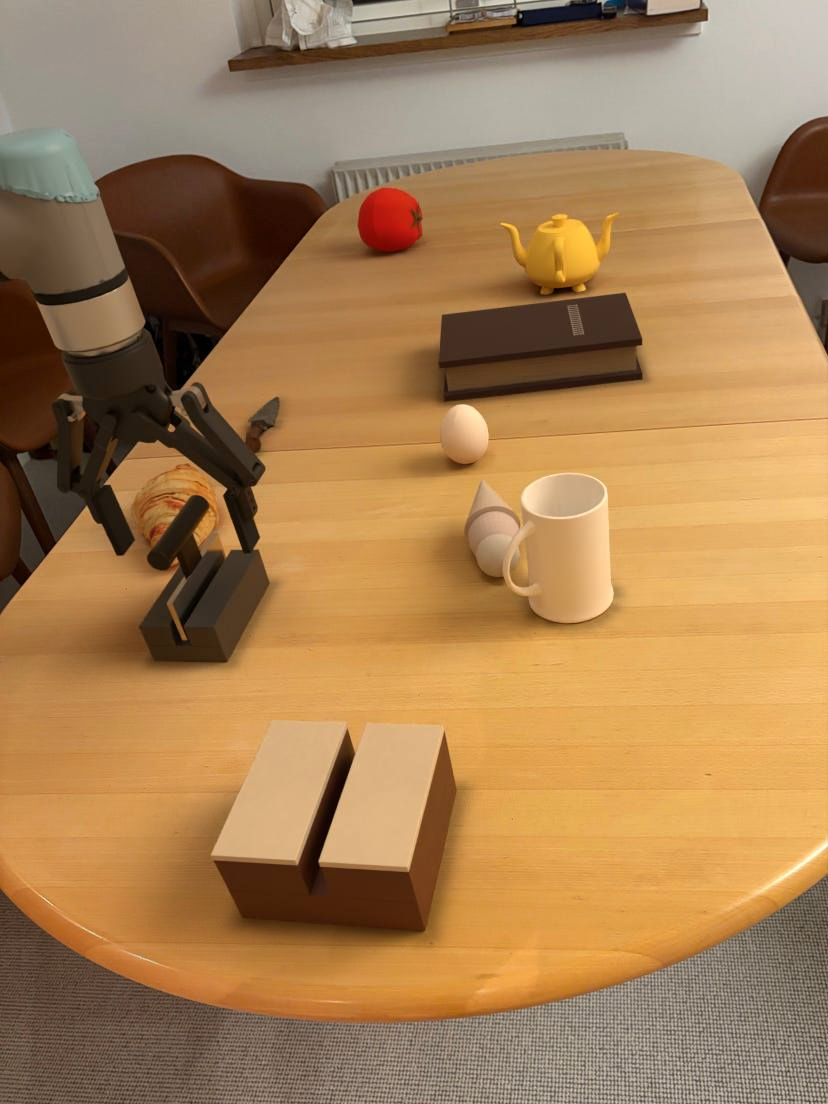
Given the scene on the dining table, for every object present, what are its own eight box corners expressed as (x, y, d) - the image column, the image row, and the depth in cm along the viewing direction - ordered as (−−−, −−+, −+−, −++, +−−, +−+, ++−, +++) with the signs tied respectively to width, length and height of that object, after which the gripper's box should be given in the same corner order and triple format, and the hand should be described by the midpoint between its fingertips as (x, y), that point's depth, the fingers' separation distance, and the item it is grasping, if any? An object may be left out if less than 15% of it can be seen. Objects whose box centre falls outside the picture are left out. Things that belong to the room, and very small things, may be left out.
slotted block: (154, 660, 92) (138, 626, 89) (202, 583, 102) (189, 549, 99) (227, 662, 90) (213, 627, 88) (270, 582, 100) (258, 549, 97)
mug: (530, 649, 86) (519, 544, 79) (485, 605, 92) (470, 504, 85) (631, 601, 90) (629, 496, 82) (581, 561, 96) (575, 461, 88)
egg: (501, 456, 115) (495, 401, 111) (469, 478, 112) (461, 421, 107) (466, 445, 119) (459, 390, 114) (434, 465, 116) (425, 410, 111)
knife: (257, 441, 123) (223, 430, 123) (257, 455, 124) (222, 445, 124) (306, 397, 136) (274, 387, 136) (305, 410, 137) (274, 401, 137)
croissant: (209, 593, 106) (223, 536, 101) (117, 576, 102) (128, 517, 98) (216, 498, 122) (228, 446, 117) (137, 481, 118) (146, 427, 114)
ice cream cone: (489, 506, 106) (508, 598, 97) (444, 487, 103) (460, 580, 94) (519, 469, 103) (542, 560, 93) (474, 448, 100) (493, 540, 90)
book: (624, 326, 142) (624, 288, 139) (642, 379, 127) (642, 338, 124) (447, 347, 144) (442, 310, 141) (444, 401, 130) (438, 362, 126)
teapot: (502, 307, 155) (495, 236, 147) (509, 276, 166) (503, 209, 159) (621, 297, 152) (620, 225, 144) (620, 267, 163) (619, 198, 155)
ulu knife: (175, 642, 90) (138, 558, 84) (220, 571, 99) (189, 489, 93) (196, 643, 90) (160, 558, 83) (238, 571, 99) (209, 489, 92)
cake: (241, 917, 67) (210, 855, 62) (295, 782, 77) (271, 719, 72) (425, 931, 65) (407, 867, 60) (457, 789, 74) (443, 724, 69)
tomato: (364, 267, 190) (423, 268, 186) (340, 225, 178) (402, 224, 174) (378, 216, 193) (436, 216, 189) (355, 170, 181) (417, 169, 177)
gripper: (256, 311, 77) (318, 522, 90) (-2, 330, 82) (93, 528, 95) (224, 348, 71) (295, 567, 85) (-51, 366, 76) (57, 570, 90)
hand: (188, 547), depth 90 cm, fingers open, 13 cm apart
